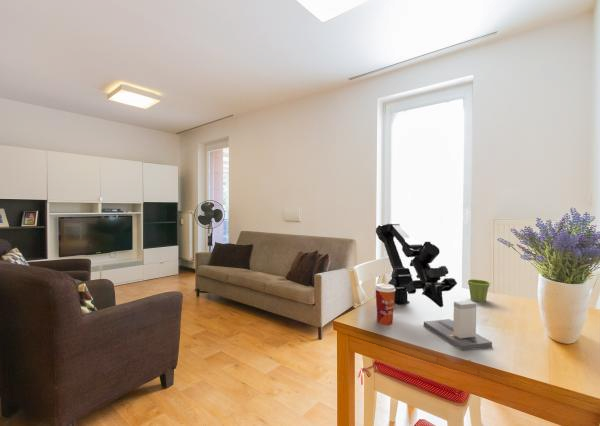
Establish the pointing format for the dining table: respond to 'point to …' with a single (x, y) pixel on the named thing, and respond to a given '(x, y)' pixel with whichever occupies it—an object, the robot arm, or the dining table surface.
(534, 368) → the dining table surface
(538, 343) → the dining table surface
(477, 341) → the fader console
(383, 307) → the paper cup
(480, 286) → the plant pot
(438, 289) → the robot arm
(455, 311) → the fader handle
